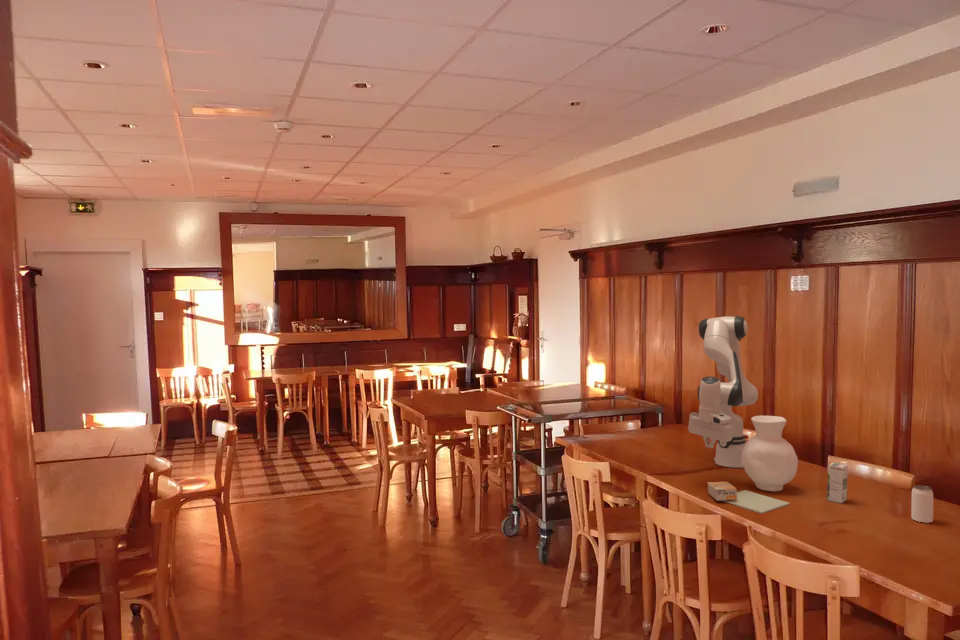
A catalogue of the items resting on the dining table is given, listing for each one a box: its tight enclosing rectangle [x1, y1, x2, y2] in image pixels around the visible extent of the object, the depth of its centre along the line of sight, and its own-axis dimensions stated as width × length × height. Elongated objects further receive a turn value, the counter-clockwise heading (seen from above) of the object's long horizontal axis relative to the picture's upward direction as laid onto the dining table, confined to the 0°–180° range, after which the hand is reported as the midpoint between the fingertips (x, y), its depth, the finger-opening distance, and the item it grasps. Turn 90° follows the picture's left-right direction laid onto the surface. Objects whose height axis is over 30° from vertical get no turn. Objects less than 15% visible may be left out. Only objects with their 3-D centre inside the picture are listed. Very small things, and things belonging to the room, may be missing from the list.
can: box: [910, 484, 934, 524], centre depth 233 cm, size 6×6×12 cm
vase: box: [741, 415, 799, 492], centre depth 273 cm, size 19×21×30 cm
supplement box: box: [706, 480, 738, 502], centre depth 263 cm, size 8×5×13 cm
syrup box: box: [826, 462, 849, 504], centre depth 256 cm, size 6×6×14 cm
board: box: [723, 489, 791, 514], centre depth 257 cm, size 18×20×1 cm
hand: (709, 447), depth 276 cm, fingers closed
